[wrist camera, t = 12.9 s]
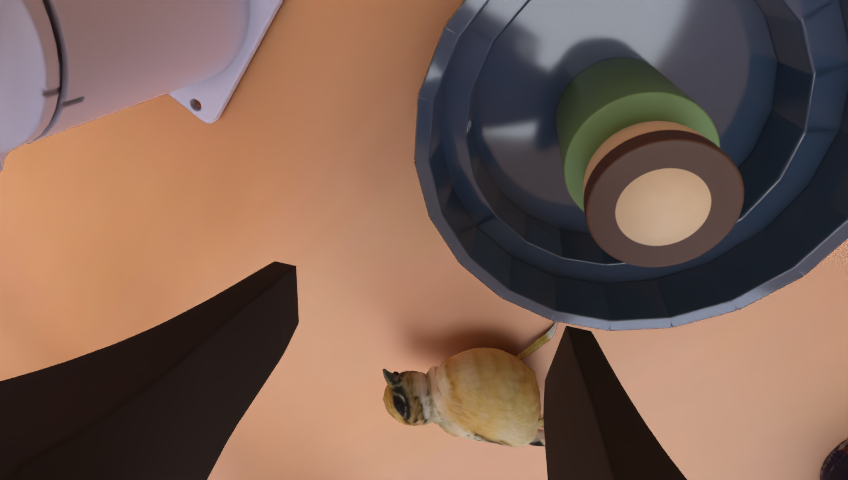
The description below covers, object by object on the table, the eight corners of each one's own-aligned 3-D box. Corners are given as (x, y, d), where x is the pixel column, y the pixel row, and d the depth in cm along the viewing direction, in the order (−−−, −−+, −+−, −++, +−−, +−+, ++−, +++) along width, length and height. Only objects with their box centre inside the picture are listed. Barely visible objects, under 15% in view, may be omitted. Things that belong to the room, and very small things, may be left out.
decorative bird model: (585, 335, 18) (364, 415, 20) (628, 478, 25) (463, 530, 27) (549, 271, 22) (364, 342, 23) (595, 412, 29) (451, 461, 30)
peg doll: (533, 117, 17) (535, 214, 11) (621, 31, 15) (692, 85, 9) (603, 184, 18) (645, 314, 11) (696, 111, 16) (813, 218, 9)
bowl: (379, 118, 19) (337, 162, 15) (649, -222, 12) (709, -315, 8) (587, 301, 22) (601, 381, 18) (901, 101, 15) (1042, 153, 11)
